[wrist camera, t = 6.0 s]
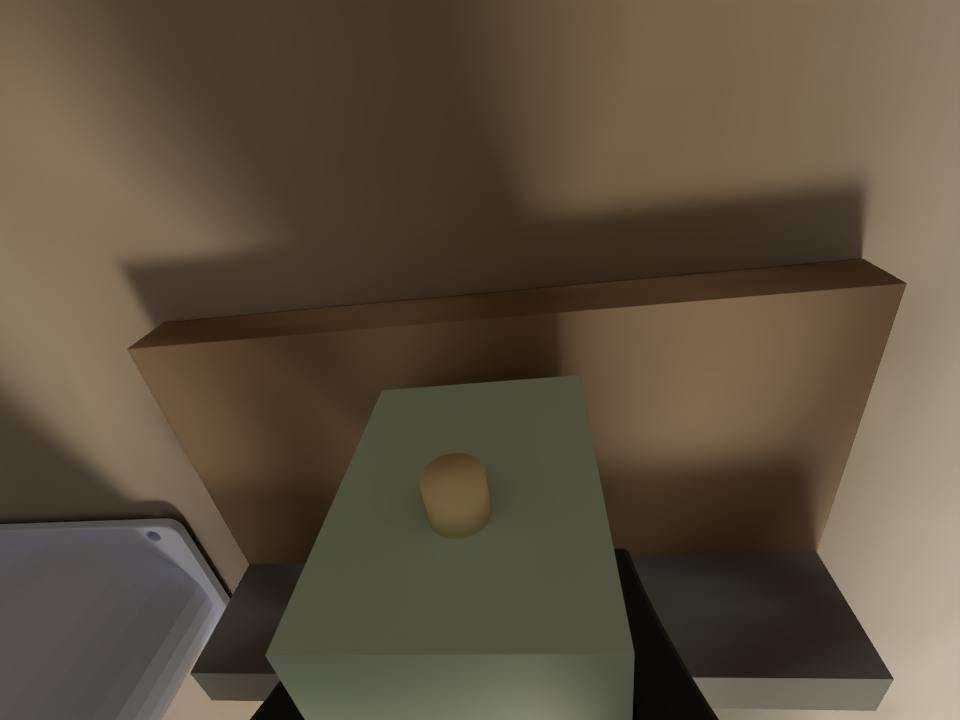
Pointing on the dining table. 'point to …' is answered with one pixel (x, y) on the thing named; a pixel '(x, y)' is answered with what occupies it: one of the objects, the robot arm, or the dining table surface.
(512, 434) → the mini cabinet
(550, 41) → the dining table surface
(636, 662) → the robot arm
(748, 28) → the dining table surface
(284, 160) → the dining table surface
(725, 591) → the cleat wall
